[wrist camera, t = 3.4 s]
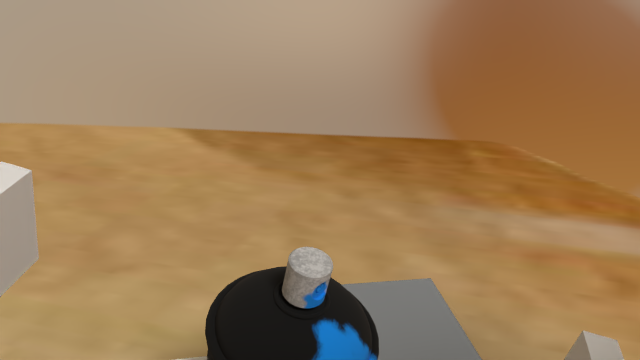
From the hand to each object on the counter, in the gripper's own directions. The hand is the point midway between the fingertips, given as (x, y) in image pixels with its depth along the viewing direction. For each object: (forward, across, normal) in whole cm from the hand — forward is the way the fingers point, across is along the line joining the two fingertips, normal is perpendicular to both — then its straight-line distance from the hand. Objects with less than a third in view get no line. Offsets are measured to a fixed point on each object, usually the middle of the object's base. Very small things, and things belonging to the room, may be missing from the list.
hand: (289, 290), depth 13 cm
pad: (+26, +8, -26) cm, 38 cm away
